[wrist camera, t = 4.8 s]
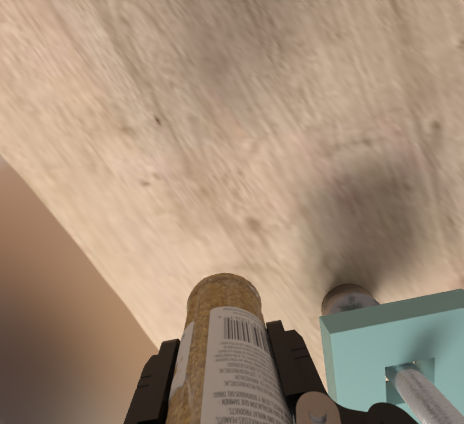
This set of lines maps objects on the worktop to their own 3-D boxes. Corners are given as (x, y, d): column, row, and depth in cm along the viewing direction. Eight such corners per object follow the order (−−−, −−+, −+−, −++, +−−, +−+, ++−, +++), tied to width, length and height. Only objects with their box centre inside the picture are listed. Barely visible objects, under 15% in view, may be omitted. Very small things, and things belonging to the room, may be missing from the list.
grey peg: (319, 289, 28) (412, 413, 14) (368, 279, 28) (508, 394, 14) (324, 332, 29) (413, 482, 16) (371, 322, 29) (501, 464, 16)
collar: (319, 316, 20) (330, 333, 18) (461, 288, 20) (487, 303, 18) (332, 425, 22) (342, 451, 20) (456, 401, 22) (479, 424, 20)
